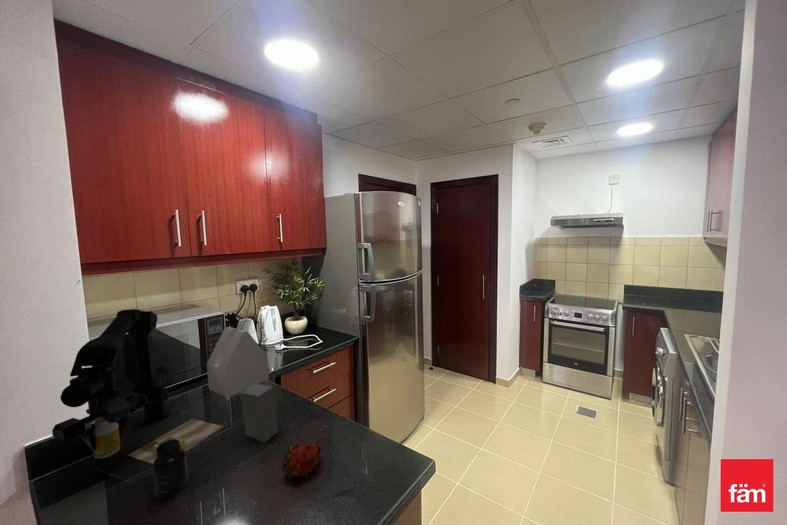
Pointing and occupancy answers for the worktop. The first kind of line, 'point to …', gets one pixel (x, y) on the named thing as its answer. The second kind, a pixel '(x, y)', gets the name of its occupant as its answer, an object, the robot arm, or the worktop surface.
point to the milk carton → (236, 363)
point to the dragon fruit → (301, 459)
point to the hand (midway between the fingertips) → (106, 443)
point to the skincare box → (259, 412)
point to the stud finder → (182, 441)
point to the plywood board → (188, 431)
